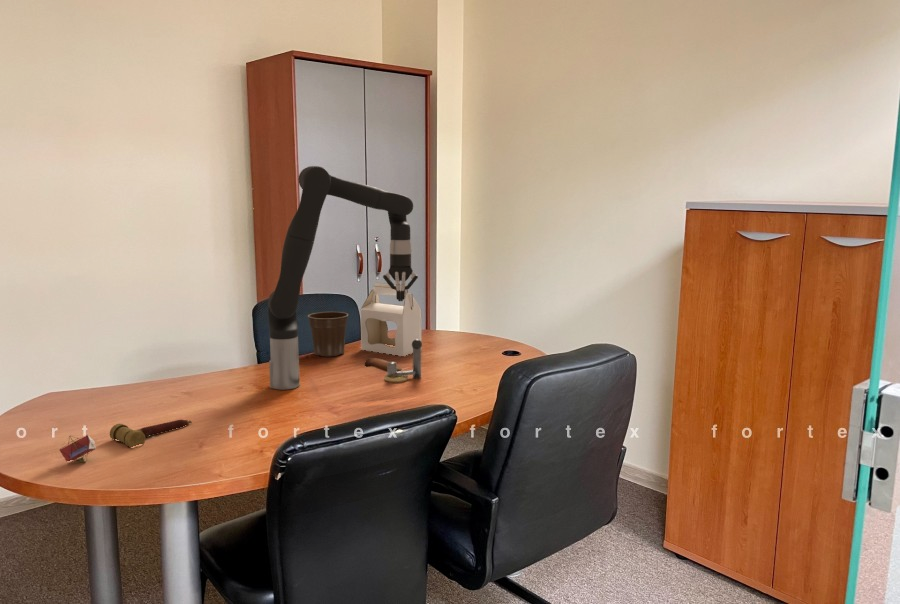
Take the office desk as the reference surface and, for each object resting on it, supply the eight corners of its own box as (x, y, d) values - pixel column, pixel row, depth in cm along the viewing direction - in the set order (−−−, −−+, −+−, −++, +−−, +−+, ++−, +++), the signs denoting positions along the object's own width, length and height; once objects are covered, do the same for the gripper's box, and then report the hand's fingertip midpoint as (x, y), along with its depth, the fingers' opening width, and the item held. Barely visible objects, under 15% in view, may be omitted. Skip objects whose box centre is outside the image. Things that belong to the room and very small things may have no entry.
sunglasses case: (411, 372, 250) (403, 358, 246) (397, 385, 246) (390, 371, 243) (382, 363, 263) (374, 350, 260) (369, 375, 260) (361, 361, 256)
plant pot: (304, 351, 282) (303, 312, 280) (342, 347, 289) (341, 310, 286) (314, 360, 268) (313, 319, 265) (354, 356, 274) (353, 316, 272)
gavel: (181, 410, 197) (201, 417, 191) (181, 425, 198) (201, 433, 192) (109, 425, 181) (128, 433, 175) (109, 442, 181) (128, 450, 175)
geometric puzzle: (55, 462, 161) (75, 432, 163) (51, 453, 167) (71, 424, 168) (83, 474, 165) (103, 445, 167) (79, 464, 171) (98, 436, 172)
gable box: (360, 350, 285) (359, 283, 280) (380, 344, 296) (379, 280, 291) (403, 357, 273) (403, 288, 269) (422, 350, 284) (422, 284, 280)
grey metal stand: (388, 383, 230) (387, 344, 228) (382, 377, 238) (381, 339, 236) (425, 379, 235) (425, 341, 233) (418, 374, 242) (418, 336, 240)
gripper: (380, 253, 237) (381, 302, 240) (418, 253, 237) (418, 302, 240) (382, 251, 245) (383, 299, 247) (419, 251, 245) (419, 299, 247)
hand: (400, 300), depth 244 cm, fingers closed
